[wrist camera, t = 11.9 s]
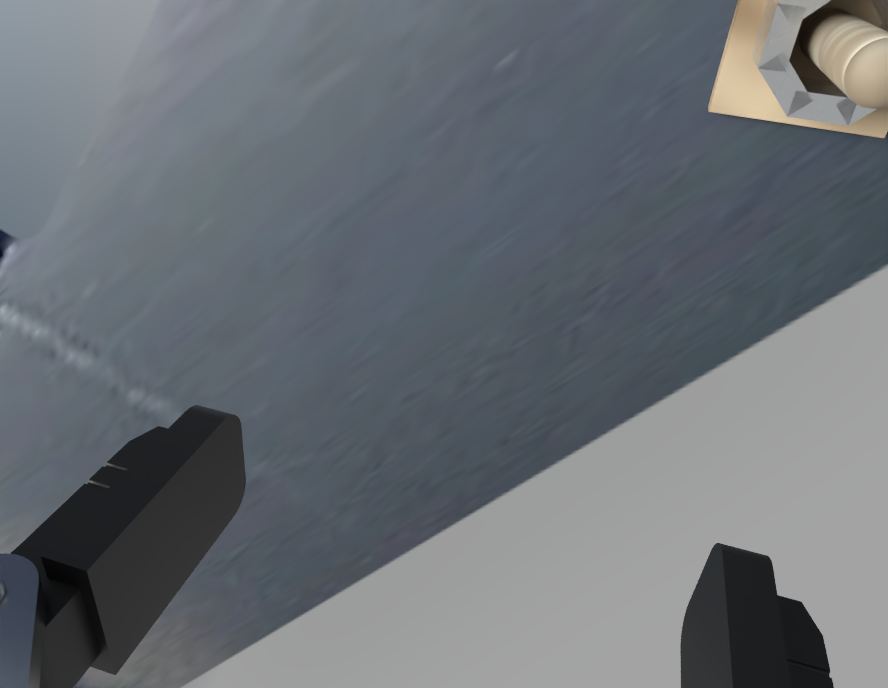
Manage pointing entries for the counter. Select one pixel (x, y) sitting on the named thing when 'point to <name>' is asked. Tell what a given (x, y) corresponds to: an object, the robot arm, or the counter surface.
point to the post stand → (810, 64)
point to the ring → (772, 56)
